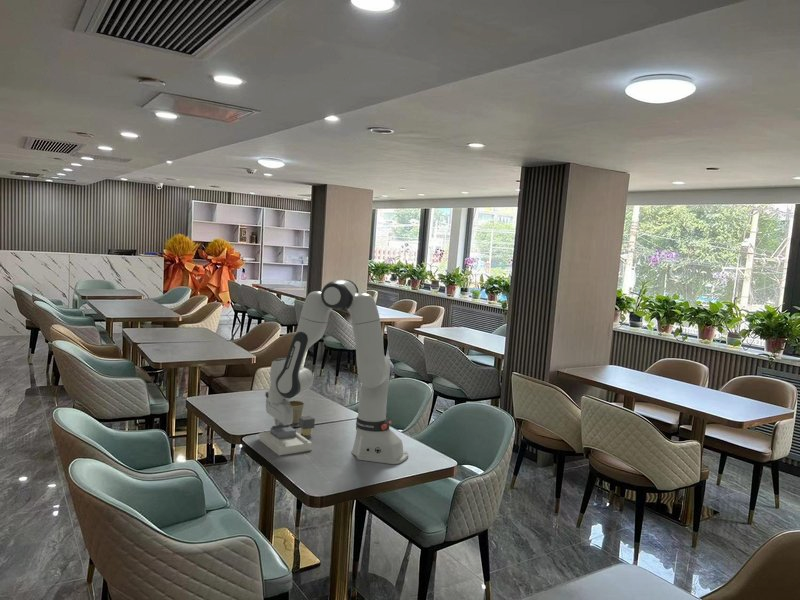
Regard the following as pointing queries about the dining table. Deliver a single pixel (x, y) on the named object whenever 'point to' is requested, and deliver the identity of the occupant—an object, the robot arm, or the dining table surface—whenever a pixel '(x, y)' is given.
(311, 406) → the dining table surface
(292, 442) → the socket plate
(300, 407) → the flower pot
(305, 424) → the plug
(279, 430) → the cover
